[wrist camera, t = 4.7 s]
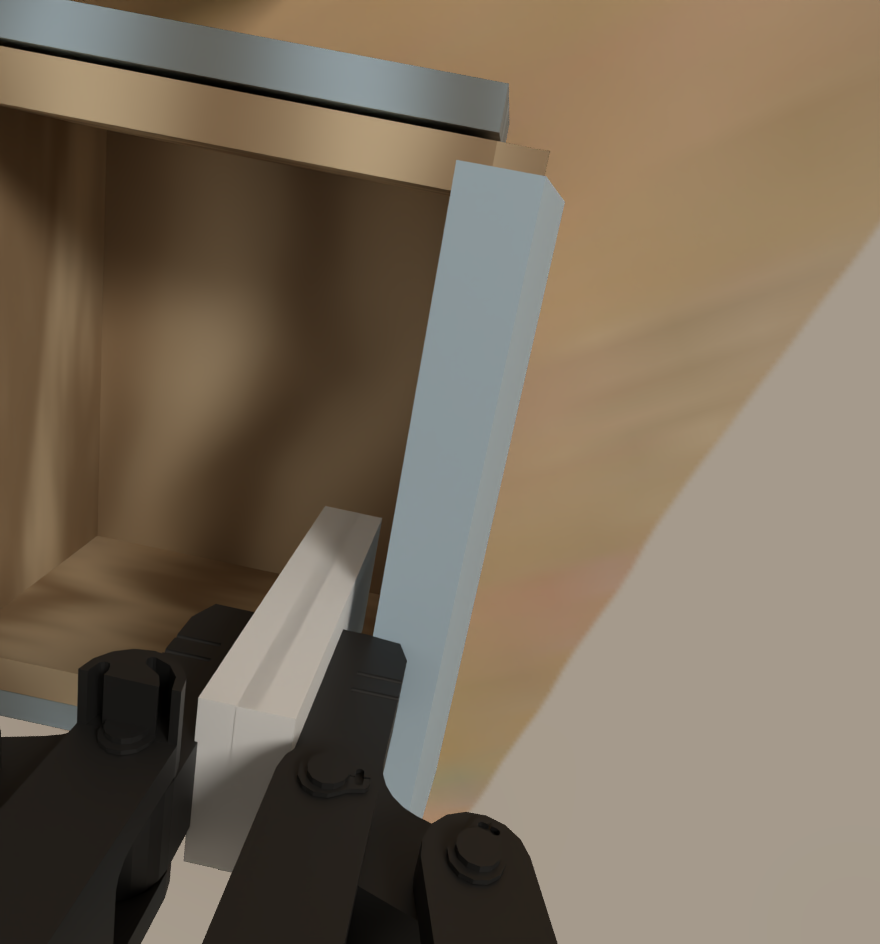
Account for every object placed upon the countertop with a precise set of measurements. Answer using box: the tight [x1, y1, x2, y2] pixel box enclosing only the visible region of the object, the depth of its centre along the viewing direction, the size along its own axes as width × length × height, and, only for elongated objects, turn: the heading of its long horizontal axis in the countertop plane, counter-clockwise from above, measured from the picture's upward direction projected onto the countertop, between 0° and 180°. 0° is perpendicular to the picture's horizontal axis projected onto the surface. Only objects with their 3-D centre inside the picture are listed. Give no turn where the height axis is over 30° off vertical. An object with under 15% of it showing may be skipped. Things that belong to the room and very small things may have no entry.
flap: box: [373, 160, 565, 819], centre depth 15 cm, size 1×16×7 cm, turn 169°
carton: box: [0, 0, 550, 730], centre depth 24 cm, size 16×20×9 cm
